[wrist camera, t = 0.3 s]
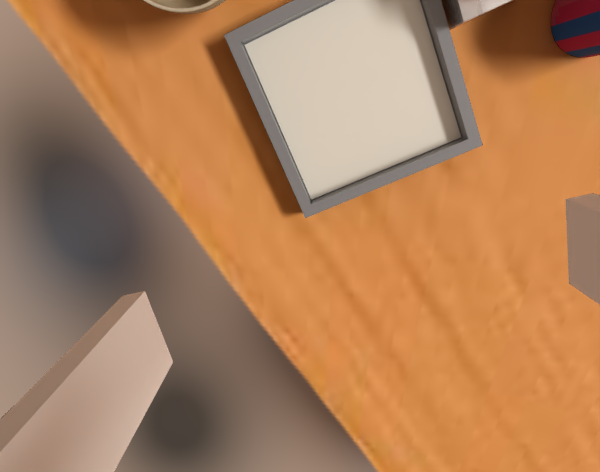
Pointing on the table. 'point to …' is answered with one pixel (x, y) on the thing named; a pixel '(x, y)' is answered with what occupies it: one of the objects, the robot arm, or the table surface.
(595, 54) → the cup
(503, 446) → the table surface
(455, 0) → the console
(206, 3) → the flower pot
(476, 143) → the tray
